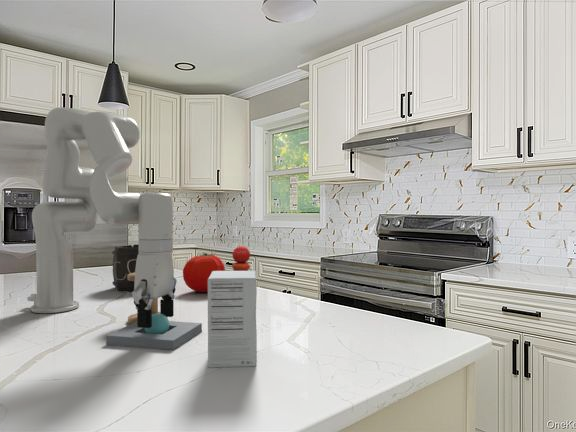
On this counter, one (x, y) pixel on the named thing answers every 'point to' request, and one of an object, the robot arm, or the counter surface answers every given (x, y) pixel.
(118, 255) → the black lettered canister
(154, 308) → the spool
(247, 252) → the stacking toy
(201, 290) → the tomato
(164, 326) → the teal ball
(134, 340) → the square hole board
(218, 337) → the supplement box
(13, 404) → the counter surface
